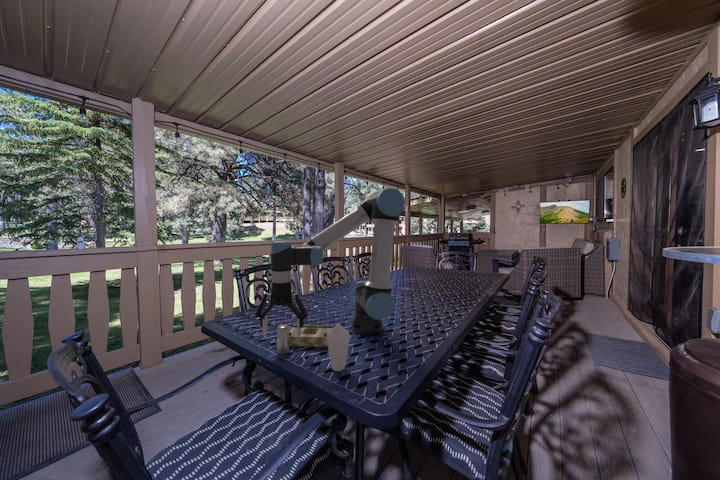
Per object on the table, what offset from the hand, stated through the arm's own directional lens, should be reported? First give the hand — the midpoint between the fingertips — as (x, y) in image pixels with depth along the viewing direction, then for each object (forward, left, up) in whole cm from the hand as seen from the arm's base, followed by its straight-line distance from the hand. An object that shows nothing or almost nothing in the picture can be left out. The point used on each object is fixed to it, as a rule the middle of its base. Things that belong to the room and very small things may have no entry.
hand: (282, 335), depth 105 cm
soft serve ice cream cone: (-24, +11, -7) cm, 27 cm away
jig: (-8, -11, -7) cm, 15 cm away
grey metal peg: (0, 0, -7) cm, 7 cm away
